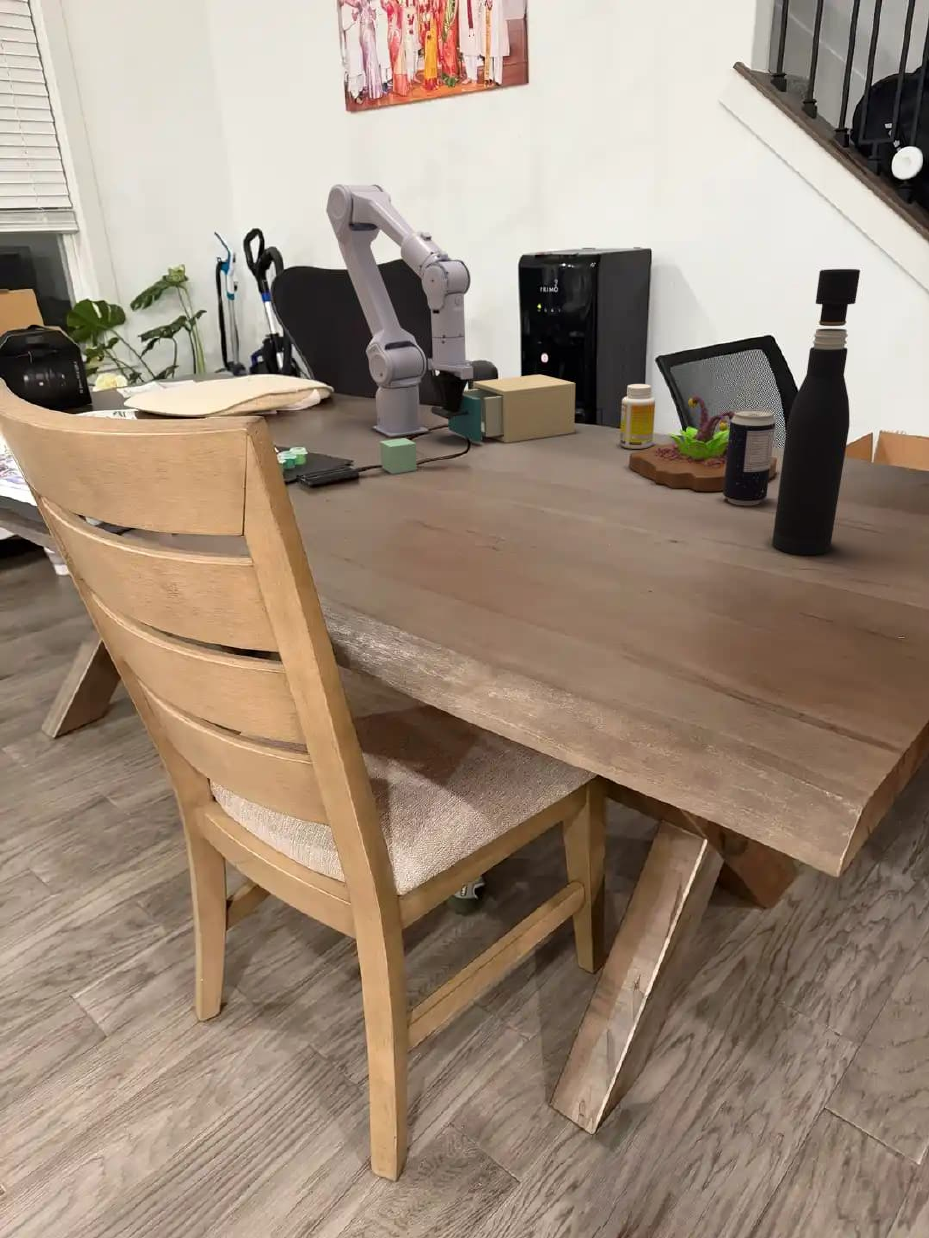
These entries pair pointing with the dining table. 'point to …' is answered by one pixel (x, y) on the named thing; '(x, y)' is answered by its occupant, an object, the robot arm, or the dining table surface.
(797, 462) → the black water bottle
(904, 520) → the dining table surface
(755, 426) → the beverage can
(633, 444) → the supplement bottle
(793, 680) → the dining table surface
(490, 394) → the drawer
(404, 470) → the sage green cube
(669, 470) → the plant
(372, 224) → the robot arm
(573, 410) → the beige box
